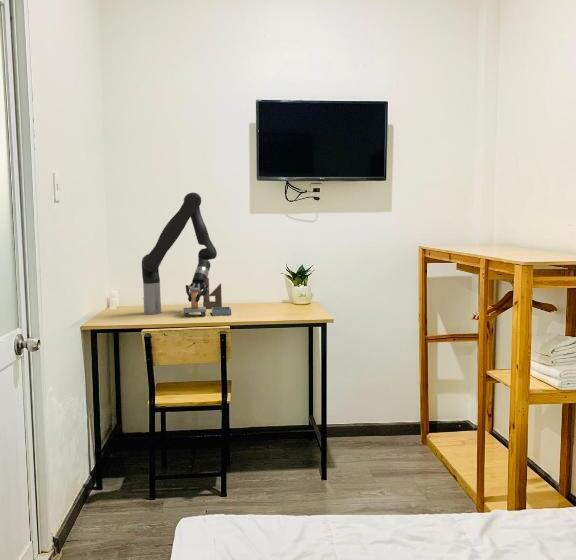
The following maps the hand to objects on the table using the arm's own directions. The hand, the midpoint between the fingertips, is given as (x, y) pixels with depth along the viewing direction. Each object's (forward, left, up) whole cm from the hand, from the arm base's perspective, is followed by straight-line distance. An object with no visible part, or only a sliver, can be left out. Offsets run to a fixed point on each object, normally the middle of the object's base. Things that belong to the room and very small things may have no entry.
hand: (193, 300), depth 319 cm
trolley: (+1, +2, -9) cm, 9 cm away
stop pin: (+1, +2, -5) cm, 5 cm away
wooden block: (+11, +26, -9) cm, 29 cm away
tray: (+15, +4, -9) cm, 18 cm away
